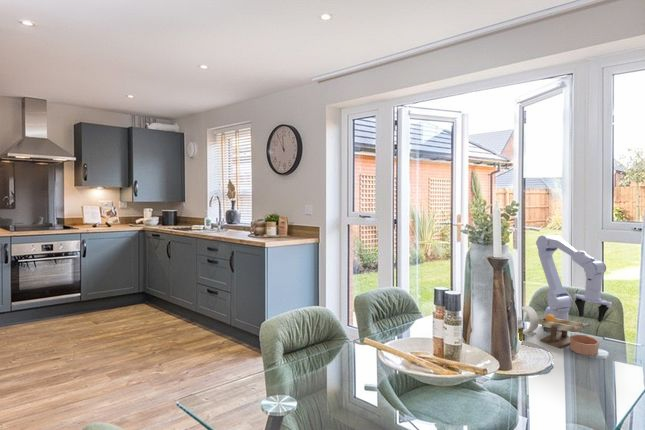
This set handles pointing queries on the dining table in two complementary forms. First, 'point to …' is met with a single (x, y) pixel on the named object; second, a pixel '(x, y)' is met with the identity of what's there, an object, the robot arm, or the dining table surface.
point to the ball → (550, 318)
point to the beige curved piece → (562, 325)
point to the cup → (584, 344)
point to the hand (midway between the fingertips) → (590, 318)
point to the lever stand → (557, 338)
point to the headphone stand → (531, 320)
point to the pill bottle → (520, 329)
